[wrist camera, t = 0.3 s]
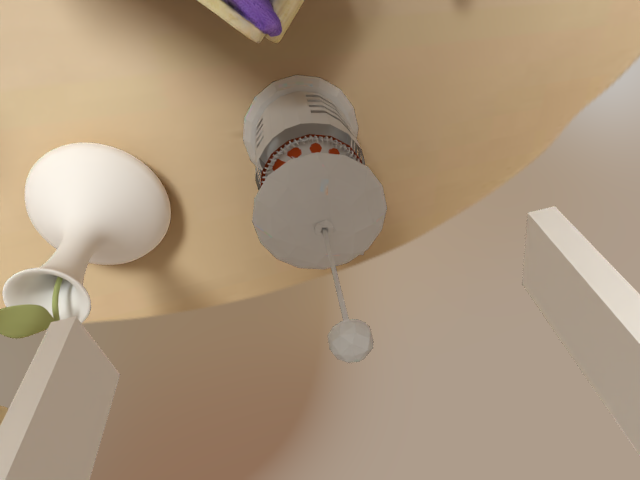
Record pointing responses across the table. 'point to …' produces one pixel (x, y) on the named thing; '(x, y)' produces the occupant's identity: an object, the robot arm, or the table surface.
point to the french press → (314, 188)
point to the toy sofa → (256, 16)
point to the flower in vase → (82, 230)
